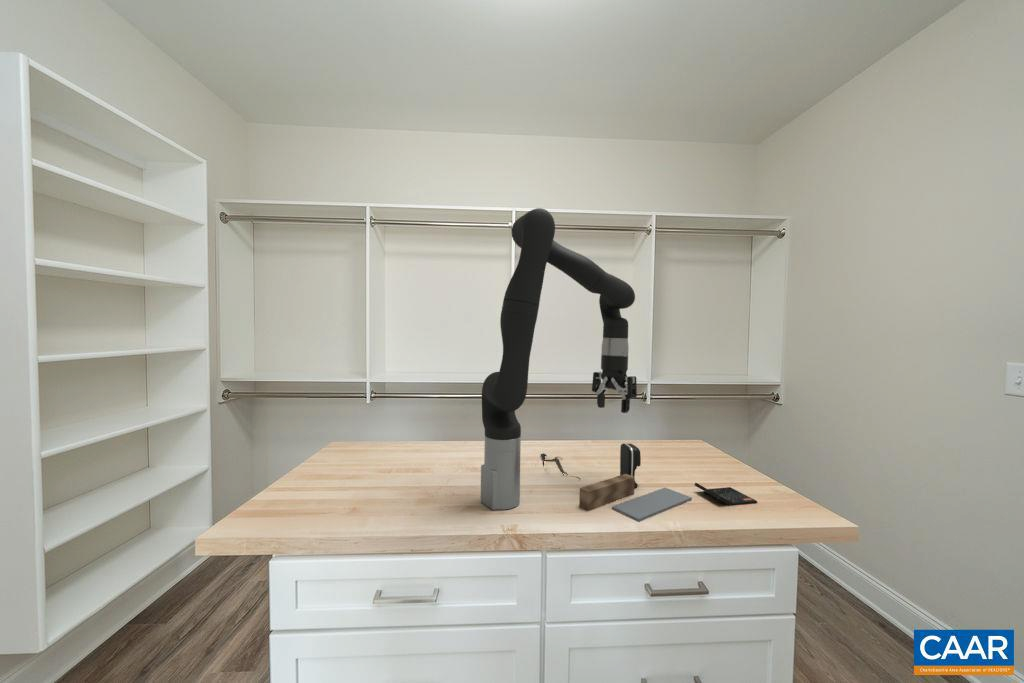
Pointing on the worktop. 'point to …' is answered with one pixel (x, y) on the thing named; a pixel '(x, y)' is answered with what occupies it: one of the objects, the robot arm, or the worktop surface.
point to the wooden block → (606, 491)
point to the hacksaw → (556, 462)
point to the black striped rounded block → (629, 460)
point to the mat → (651, 503)
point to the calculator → (728, 495)
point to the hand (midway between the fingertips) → (612, 409)
